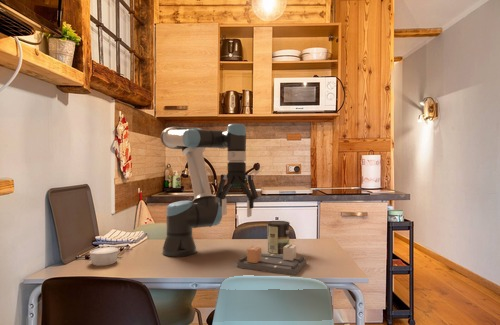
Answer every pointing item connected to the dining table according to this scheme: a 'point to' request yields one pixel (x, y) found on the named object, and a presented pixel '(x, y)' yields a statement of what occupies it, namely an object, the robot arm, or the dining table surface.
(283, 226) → the coffee can
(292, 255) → the off-white fader knob
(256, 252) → the terracotta fader knob
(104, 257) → the ramekin
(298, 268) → the console
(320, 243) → the dining table surface
